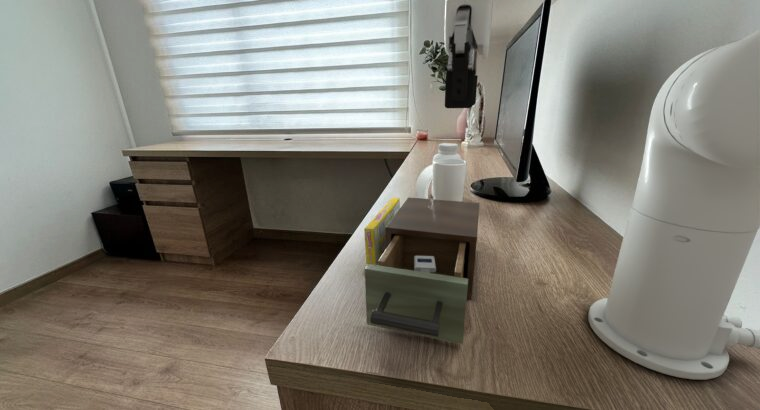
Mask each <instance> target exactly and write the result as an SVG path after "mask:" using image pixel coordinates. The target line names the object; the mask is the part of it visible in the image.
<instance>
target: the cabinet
mask: <svg viewBox="0 0 760 410" xmlns="http://www.w3.org/2000/svg"><path fill="white" fill-rule="evenodd" d="M479 216H480V202H471V201H462V202H460V201H448V200H435V199H433V198H428V199H422V198H417V197H410V196H409V197H407V198H406V199H405V200H404V202H403V203H402V205H400V209H399V210H398V211H397V213H396V214H395V215H394V217H393V218H392V219H391V221H390V222H389V223H388V225H387V226H386V227H385V240H386V249H387V247H388V246H389V244H390V242H391V241H392V239H393V238H394V236H395V235H396V234H401V235H410V236H418V237H427V238H436V239H445V240H454V241H462V242H466V254H465V267H464V278H467V279H468V289H467V300H472V298H473V287H474V276H475V265H476V254H477V244H478V232H479V231H478V230H479Z"/></svg>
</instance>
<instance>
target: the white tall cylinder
mask: <svg viewBox="0 0 760 410" xmlns="http://www.w3.org/2000/svg"><path fill="white" fill-rule="evenodd" d="M432 164H433V176H432V182H431V184H432V183H433V196H432V197H433V198H432V199H435V200H448V201H460V202H464V193H465V188H466V181H467V161H466V160H464V159H462V160H460V159H437V160H435V161H434V162H433V161H432Z"/></svg>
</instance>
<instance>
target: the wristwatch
mask: <svg viewBox="0 0 760 410" xmlns="http://www.w3.org/2000/svg"><path fill="white" fill-rule="evenodd" d="M414 271H419V272H426V273H430V272H436V266H435V259H434V256H414Z"/></svg>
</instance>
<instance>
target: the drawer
mask: <svg viewBox="0 0 760 410" xmlns="http://www.w3.org/2000/svg"><path fill="white" fill-rule="evenodd" d="M465 254H466V242H462V241H454V240H445V239H436V238H427V237H418V236H410V235H401V234H396V235H395V236H394V238H393V239H392V241H391V242H390V244H389V246H388V247H387V249H386V250H385V252H384V253H383V255H382V256H381V258H380V259H379V261H378V265H372V264H368V265H367V264H366V266H365V268H364V283H365V285H364V286H365V288H364V289H365V309H366V325H367V326H373V327H377V328H382V329H385V330H386V329H387V330H391V331H396V332H401V333H405V334H410V335H415V336H421V337H426V338H431V339H436V340H440V341H444V342H449V343H454V344H460V345H463V343H464V335H465V323H466V312H467V300H468V299H467V289H468V279H467V278H464V267H465ZM414 256H434V259H435V266H436V272H430V273H426V272H419V271H414Z"/></svg>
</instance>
